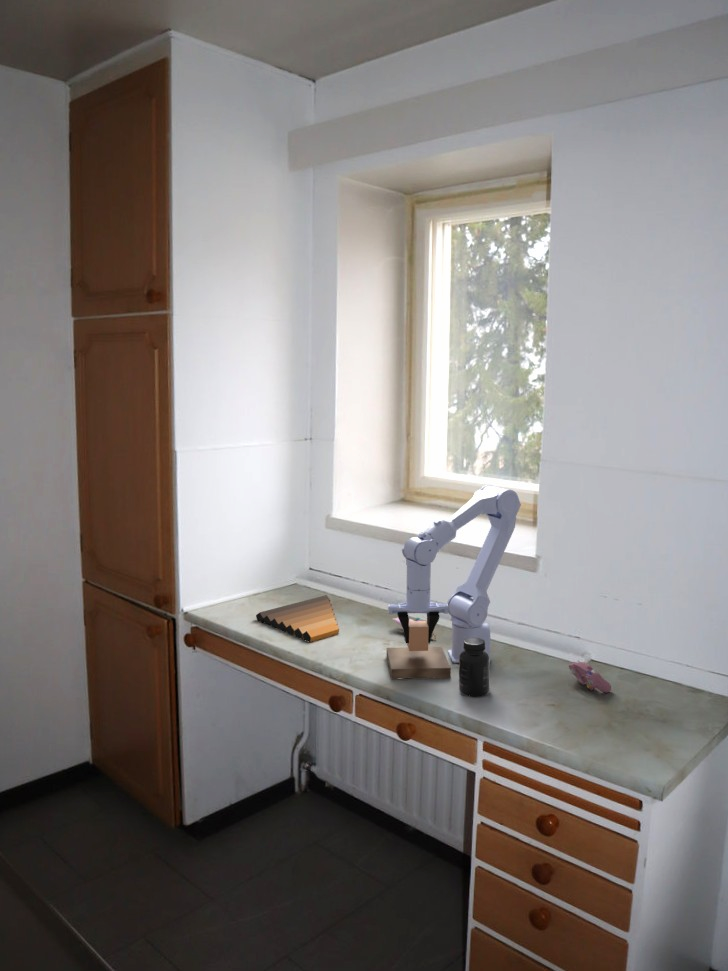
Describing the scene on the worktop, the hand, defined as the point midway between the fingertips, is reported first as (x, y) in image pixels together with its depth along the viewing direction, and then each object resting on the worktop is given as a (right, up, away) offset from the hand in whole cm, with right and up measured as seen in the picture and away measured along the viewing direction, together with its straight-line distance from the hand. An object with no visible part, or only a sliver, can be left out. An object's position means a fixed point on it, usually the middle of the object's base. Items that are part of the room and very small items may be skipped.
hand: (417, 641), depth 197 cm
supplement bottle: (+12, -9, -13) cm, 20 cm away
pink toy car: (+39, -9, -10) cm, 41 cm away
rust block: (0, -2, 0) cm, 2 cm away
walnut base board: (0, -6, +1) cm, 6 cm away
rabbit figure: (0, -3, +24) cm, 24 cm away
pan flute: (-26, -2, +35) cm, 44 cm away
